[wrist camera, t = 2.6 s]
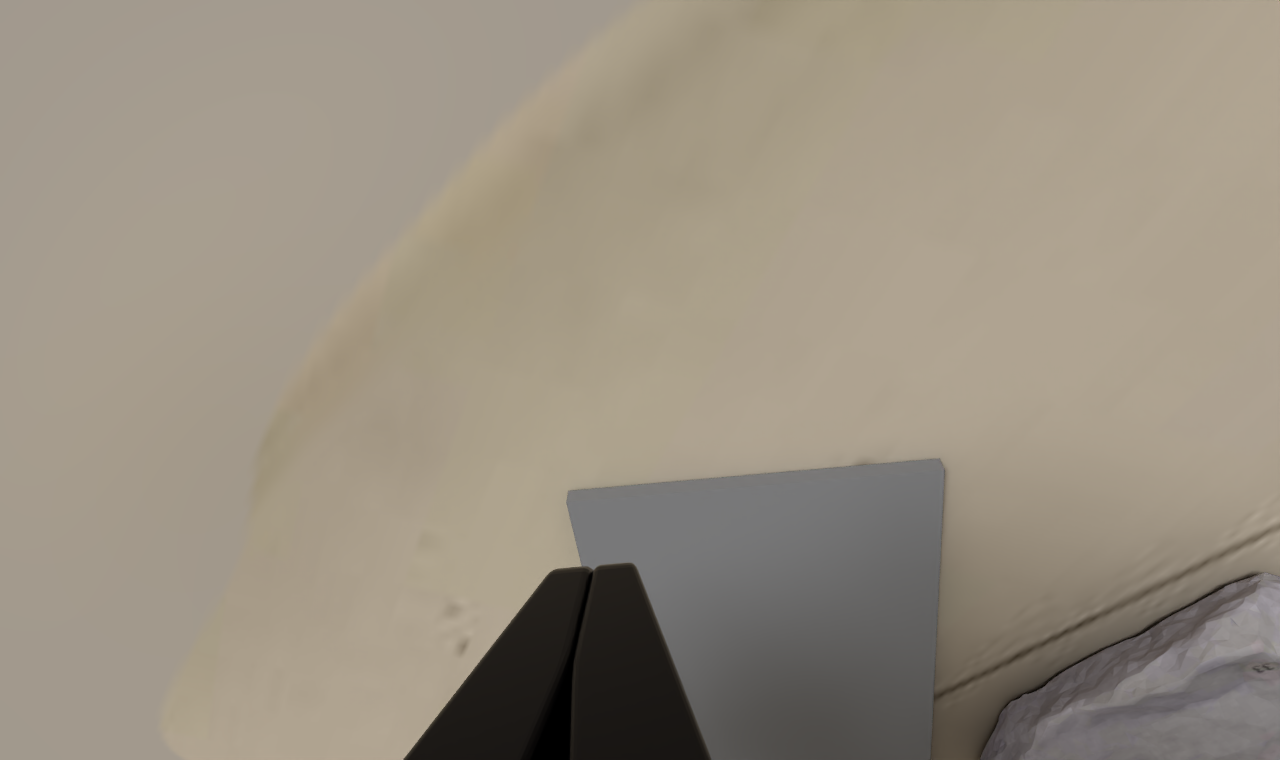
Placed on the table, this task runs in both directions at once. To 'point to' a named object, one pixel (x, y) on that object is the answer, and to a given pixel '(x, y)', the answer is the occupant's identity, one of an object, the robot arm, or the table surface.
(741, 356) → the table surface
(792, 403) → the table surface
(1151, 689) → the stone block
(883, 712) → the mat
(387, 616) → the table surface
